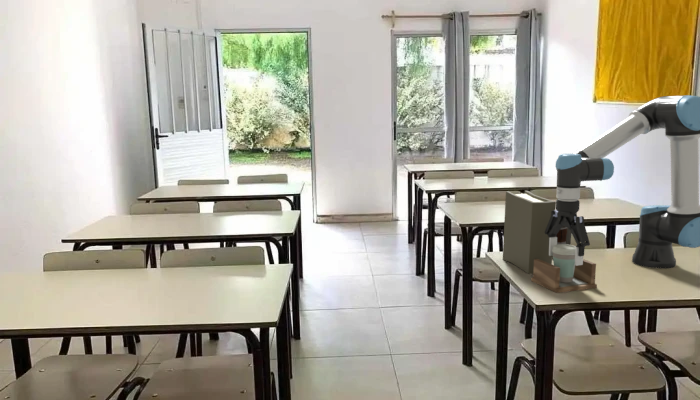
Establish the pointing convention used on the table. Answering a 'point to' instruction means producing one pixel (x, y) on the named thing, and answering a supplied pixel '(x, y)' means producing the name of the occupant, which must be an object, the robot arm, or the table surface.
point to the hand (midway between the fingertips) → (565, 260)
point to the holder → (550, 276)
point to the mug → (564, 236)
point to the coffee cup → (564, 261)
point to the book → (526, 229)
